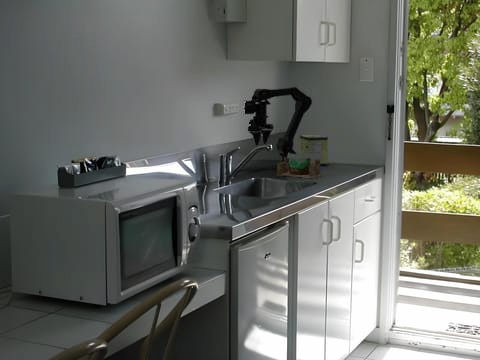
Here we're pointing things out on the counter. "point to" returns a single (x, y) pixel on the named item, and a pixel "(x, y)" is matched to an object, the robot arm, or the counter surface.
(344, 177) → the counter surface
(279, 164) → the bracket
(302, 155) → the food container
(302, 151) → the protein box
